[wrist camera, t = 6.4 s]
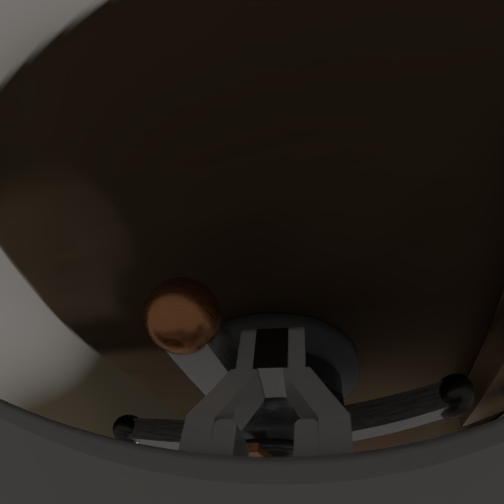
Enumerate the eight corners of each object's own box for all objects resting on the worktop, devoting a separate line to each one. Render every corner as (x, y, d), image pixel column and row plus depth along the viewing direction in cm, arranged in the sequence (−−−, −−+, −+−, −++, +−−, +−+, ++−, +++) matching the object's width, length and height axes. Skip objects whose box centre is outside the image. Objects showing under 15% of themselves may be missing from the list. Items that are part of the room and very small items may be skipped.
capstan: (434, 418, 18) (445, 471, 14) (197, 449, 23) (189, 495, 19) (477, 159, 8) (571, 241, 4) (25, 285, 13) (-22, 353, 9)
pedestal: (357, 394, 18) (359, 407, 17) (225, 407, 20) (223, 419, 19) (354, 298, 13) (358, 315, 12) (166, 323, 15) (161, 339, 14)
